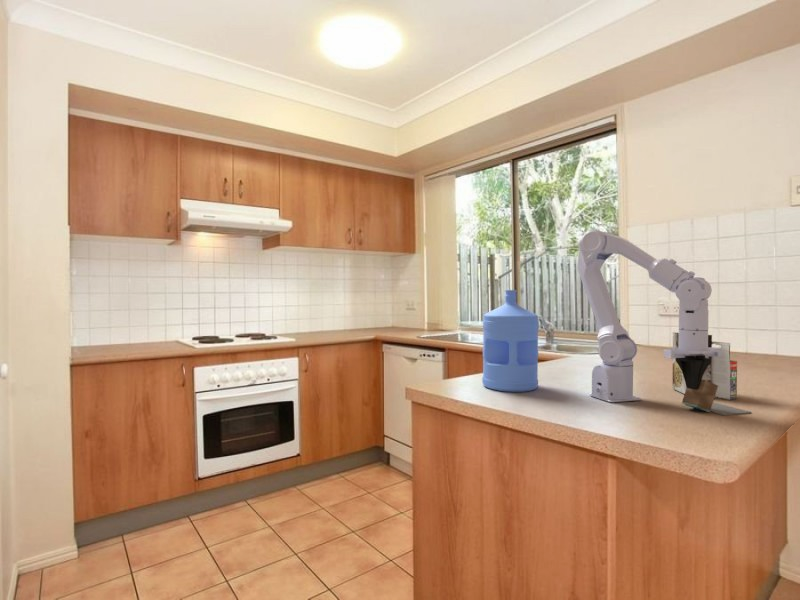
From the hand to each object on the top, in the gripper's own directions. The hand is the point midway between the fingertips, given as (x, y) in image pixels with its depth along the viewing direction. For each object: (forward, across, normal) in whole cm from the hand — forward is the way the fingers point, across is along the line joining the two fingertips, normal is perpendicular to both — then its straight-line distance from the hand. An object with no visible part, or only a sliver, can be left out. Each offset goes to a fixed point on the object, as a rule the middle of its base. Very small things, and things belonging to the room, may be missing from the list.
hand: (692, 388), depth 104 cm
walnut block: (+4, +1, 0) cm, 5 cm away
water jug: (+5, -28, +35) cm, 45 cm away
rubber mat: (+5, +7, 0) cm, 9 cm away
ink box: (+5, +19, +10) cm, 22 cm away
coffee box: (+5, +16, +15) cm, 23 cm away
